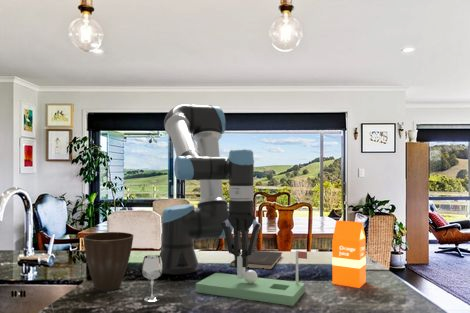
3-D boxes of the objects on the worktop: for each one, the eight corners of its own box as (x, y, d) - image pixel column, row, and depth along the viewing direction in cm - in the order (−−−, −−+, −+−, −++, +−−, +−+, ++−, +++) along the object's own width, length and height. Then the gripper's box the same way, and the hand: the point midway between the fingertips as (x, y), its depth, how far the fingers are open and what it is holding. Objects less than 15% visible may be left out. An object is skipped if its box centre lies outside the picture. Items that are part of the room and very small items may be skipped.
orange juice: (359, 288, 127) (359, 223, 128) (332, 283, 132) (332, 221, 132) (366, 282, 134) (365, 221, 134) (339, 278, 138) (339, 219, 139)
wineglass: (143, 296, 118) (143, 254, 118) (163, 295, 118) (163, 254, 119) (140, 302, 112) (140, 259, 113) (161, 302, 113) (161, 258, 113)
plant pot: (140, 282, 132) (141, 232, 133) (118, 296, 118) (119, 240, 118) (99, 279, 135) (99, 231, 136) (72, 293, 121) (73, 238, 121)
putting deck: (195, 291, 122) (195, 250, 123) (215, 280, 135) (216, 242, 135) (296, 306, 110) (296, 259, 110) (308, 291, 123) (308, 250, 123)
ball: (241, 271, 122) (253, 272, 120) (246, 268, 126) (258, 268, 124) (242, 285, 122) (254, 285, 120) (247, 281, 125) (259, 281, 124)
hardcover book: (282, 257, 172) (282, 252, 172) (271, 270, 150) (271, 264, 150) (245, 255, 177) (245, 250, 177) (230, 267, 154) (230, 261, 155)
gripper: (216, 199, 124) (216, 278, 123) (256, 201, 119) (256, 283, 118) (227, 198, 131) (226, 272, 130) (265, 199, 125) (265, 276, 125)
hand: (241, 277), depth 124 cm, fingers closed
